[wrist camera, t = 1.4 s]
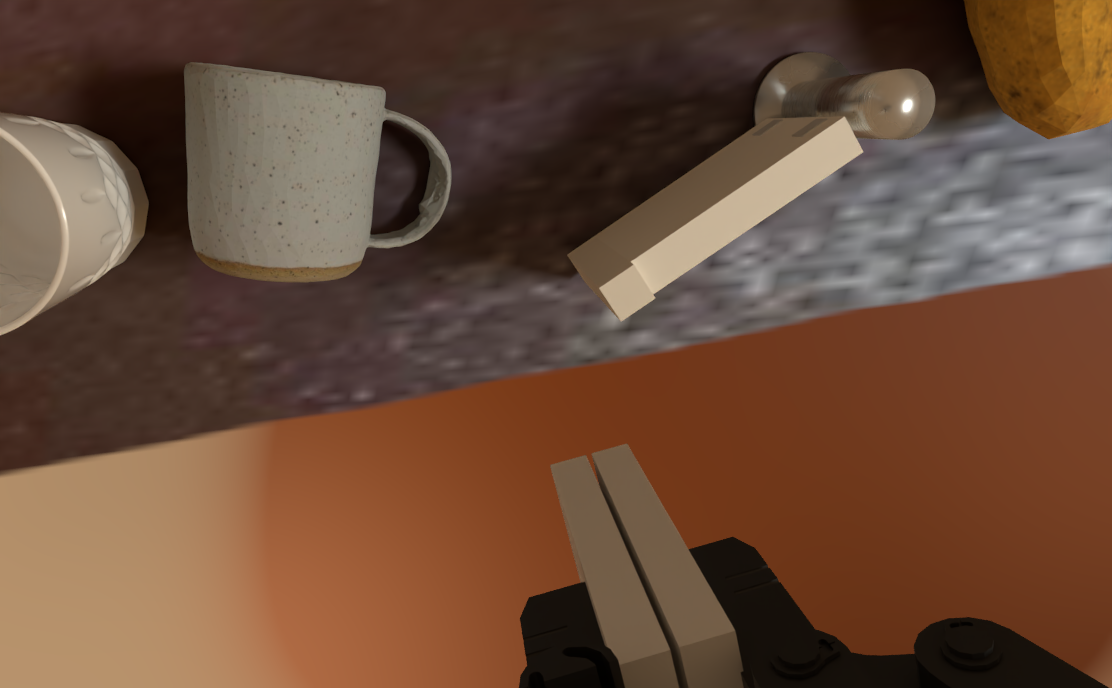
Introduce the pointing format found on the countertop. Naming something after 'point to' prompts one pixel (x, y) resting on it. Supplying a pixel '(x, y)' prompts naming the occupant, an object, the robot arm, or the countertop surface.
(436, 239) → the countertop surface
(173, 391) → the countertop surface
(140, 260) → the countertop surface
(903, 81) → the gate posts
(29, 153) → the white cup
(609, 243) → the gate
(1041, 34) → the potato
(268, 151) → the ceramic mug
